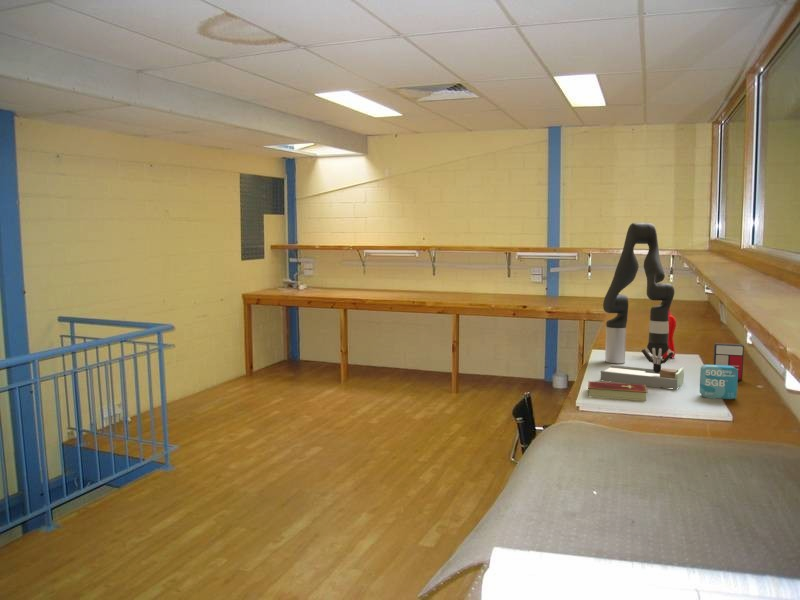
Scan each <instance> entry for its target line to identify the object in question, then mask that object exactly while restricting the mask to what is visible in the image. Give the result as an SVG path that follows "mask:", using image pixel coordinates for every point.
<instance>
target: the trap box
mask: <svg viewBox="0 0 800 600" xmlns="http://www.w3.org/2000/svg"><path fill="white" fill-rule="evenodd" d="M684 368H685V367H680V369H678V372H677V373H676V374H675V379H671V378H662V377H660V372H659V373H655V371H653V368H646V367H637V366H627V365H618V364H617V365H616V364H610V367H608V368H606V369H605V370H601V371H600V380H603V381H602V382H609V381H611V382H610V383H621V384H625V383H626V384H636V385H645V386H646V387H651V386H652V387H653V388H659V387H663V388H662V389H667V388H673V389H672V390H676V389H677V388H678V387H679V386H680V387H681V385H682V384H683V383H684V382H683V381H684V380H685V379H684V377H685V369H684ZM652 387H651V388H652ZM678 389H679V388H678ZM678 389H677V390H678Z"/></svg>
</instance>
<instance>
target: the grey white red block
mask: <svg viewBox="0 0 800 600" xmlns="http://www.w3.org/2000/svg"><path fill="white" fill-rule="evenodd" d="M744 351H745V346H744V345H743V344H741V343H740V344H739V343H722V342H714V344H713V363H712V365H727V366H733V367H734V368H736V369H737V370H738V381H743V375H744V374H743V373H744V371H743V370H744V357H745V356H744V354H745V353H744Z"/></svg>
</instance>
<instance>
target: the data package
mask: <svg viewBox="0 0 800 600" xmlns="http://www.w3.org/2000/svg"><path fill="white" fill-rule="evenodd" d="M699 373H700V376H699V393H700V394H701V396H702V397H703V398H705V399H718V398H720V399H723V400H735V399H736V398H737V396H738V382H739V380H738V370H737V369H736V368H734V367H733V366H727V365H713V364H702V365H701V366H700V372H699Z"/></svg>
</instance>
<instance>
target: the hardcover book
mask: <svg viewBox="0 0 800 600" xmlns="http://www.w3.org/2000/svg"><path fill="white" fill-rule="evenodd" d="M587 388H588V389H589V390H588V397H589V396H592V397H591V398H601V399H602V398H604V399H615V400H617V399H618V400H630V401H643V402H647V394H648V389H647V386H645V385H636V384H625V383H617V382H607V381H588V384H587Z"/></svg>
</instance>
